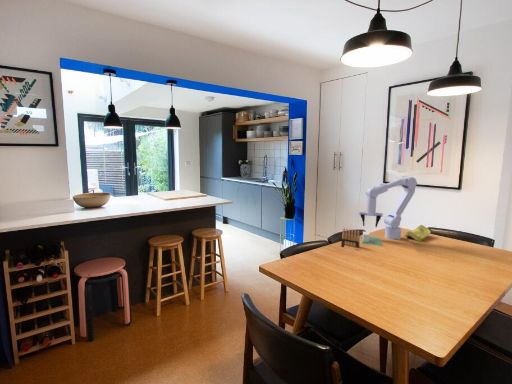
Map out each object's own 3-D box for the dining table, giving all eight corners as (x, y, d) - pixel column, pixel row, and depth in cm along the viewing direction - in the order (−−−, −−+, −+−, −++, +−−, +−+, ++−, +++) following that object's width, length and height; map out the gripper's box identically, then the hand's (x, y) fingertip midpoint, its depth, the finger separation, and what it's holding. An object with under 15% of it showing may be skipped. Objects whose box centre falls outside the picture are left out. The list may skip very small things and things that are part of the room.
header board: (379, 240, 194) (380, 234, 194) (382, 248, 177) (383, 242, 177) (360, 238, 198) (361, 232, 197) (361, 246, 181) (362, 239, 180)
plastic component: (421, 238, 191) (407, 229, 197) (415, 247, 195) (402, 237, 201) (433, 231, 203) (419, 223, 209) (427, 239, 207) (414, 231, 213)
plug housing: (368, 239, 190) (368, 232, 189) (369, 242, 183) (369, 234, 183) (362, 238, 191) (363, 231, 191) (363, 241, 185) (363, 234, 184)
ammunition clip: (341, 246, 180) (342, 227, 178) (342, 245, 181) (343, 227, 180) (358, 250, 174) (359, 230, 172) (359, 249, 175) (360, 229, 173)
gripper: (359, 206, 190) (358, 226, 192) (383, 208, 185) (382, 228, 187) (359, 204, 196) (358, 224, 198) (382, 206, 192) (381, 226, 194)
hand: (369, 226), depth 193 cm, fingers open, 7 cm apart
